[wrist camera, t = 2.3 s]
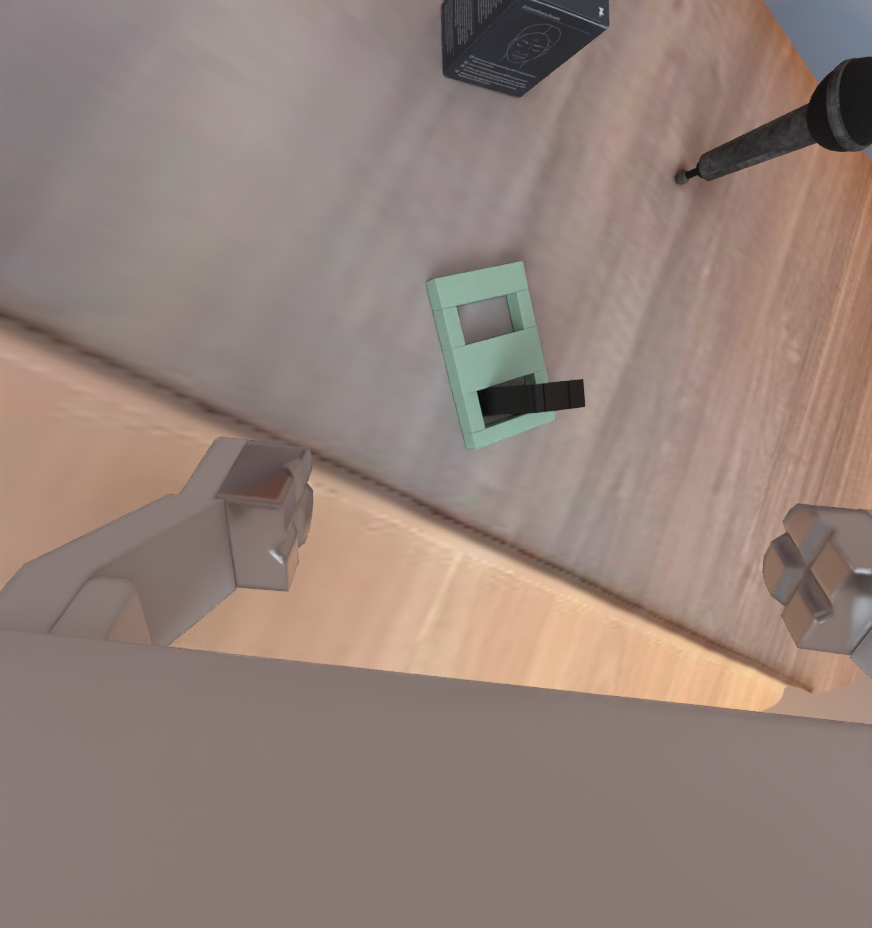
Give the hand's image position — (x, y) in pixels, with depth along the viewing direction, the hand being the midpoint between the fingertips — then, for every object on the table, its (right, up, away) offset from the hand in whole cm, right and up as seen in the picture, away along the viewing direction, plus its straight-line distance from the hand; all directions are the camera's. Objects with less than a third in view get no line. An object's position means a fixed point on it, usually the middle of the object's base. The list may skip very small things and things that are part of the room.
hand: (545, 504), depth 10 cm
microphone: (+23, +30, +53) cm, 65 cm away
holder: (+3, +10, +42) cm, 43 cm away
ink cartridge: (+4, +6, +43) cm, 44 cm away
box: (+2, +35, +40) cm, 53 cm away
